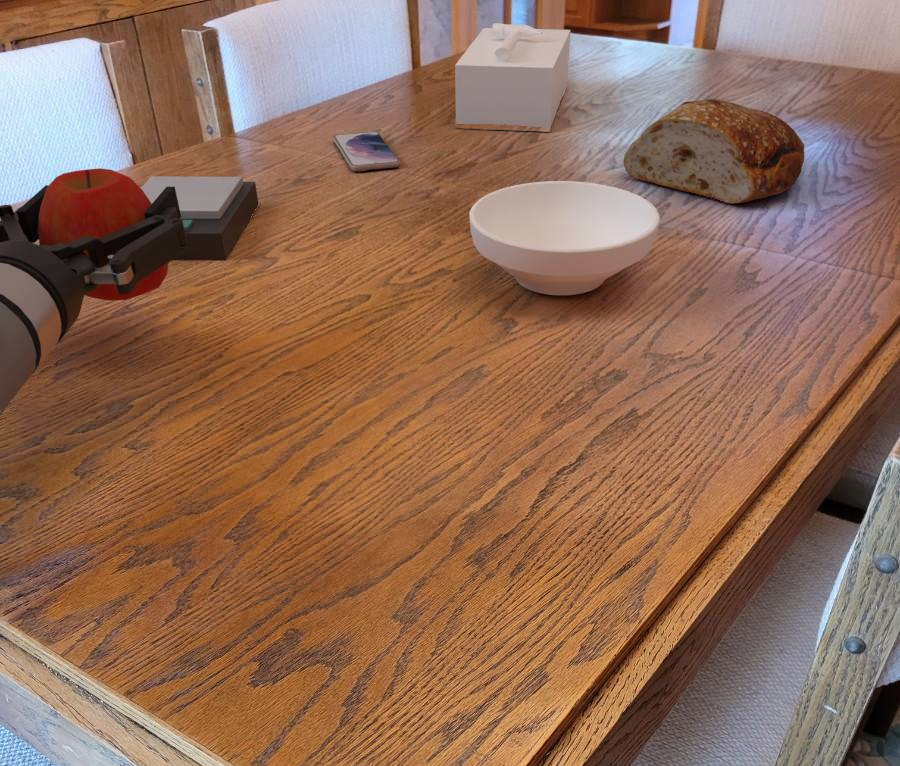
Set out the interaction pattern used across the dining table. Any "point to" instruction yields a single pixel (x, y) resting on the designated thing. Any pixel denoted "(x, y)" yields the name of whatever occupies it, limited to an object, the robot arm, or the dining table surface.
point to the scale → (209, 211)
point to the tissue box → (512, 76)
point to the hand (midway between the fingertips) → (114, 201)
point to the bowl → (563, 233)
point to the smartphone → (366, 151)
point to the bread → (718, 152)
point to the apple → (95, 217)
